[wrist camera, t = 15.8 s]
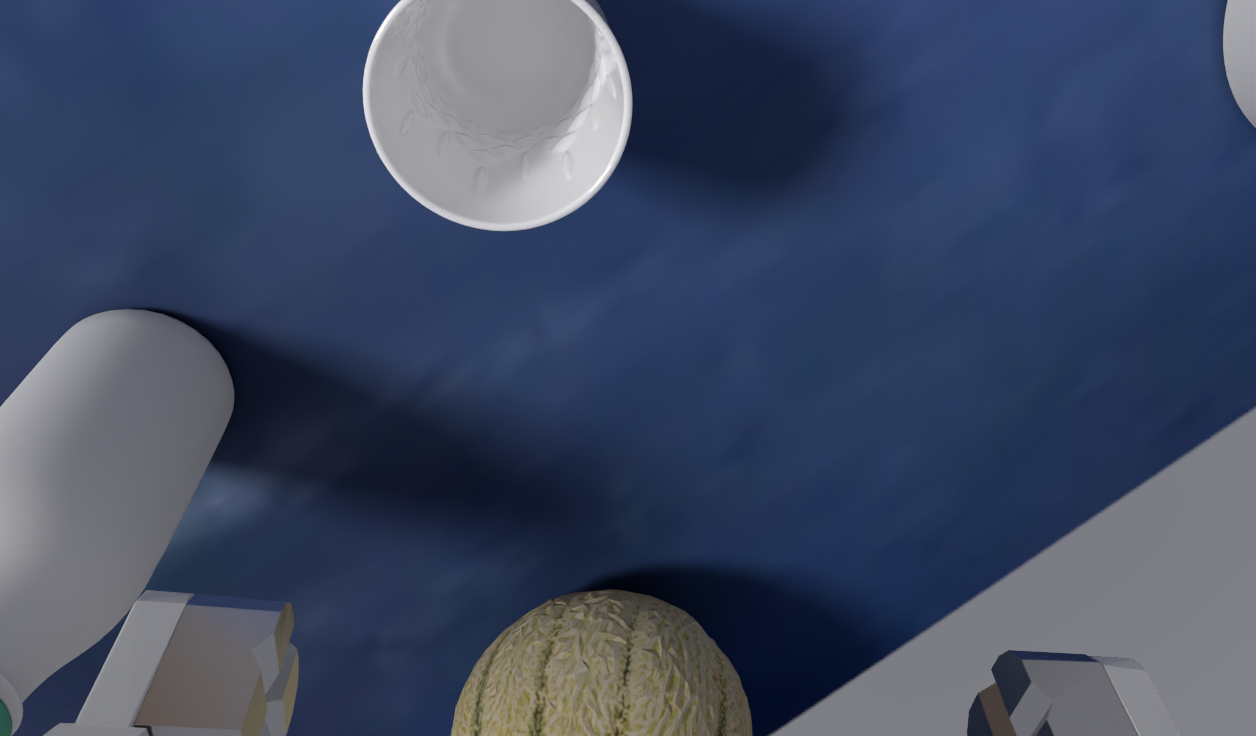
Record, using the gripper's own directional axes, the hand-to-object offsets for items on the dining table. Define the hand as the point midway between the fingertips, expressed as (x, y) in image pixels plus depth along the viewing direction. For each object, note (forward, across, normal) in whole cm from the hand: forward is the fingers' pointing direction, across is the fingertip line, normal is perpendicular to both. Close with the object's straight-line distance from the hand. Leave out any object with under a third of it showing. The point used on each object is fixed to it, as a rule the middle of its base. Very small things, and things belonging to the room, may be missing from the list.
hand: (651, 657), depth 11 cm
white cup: (+31, +4, +3) cm, 31 cm away
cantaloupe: (+28, -3, +34) cm, 45 cm away
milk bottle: (+29, +19, +20) cm, 40 cm away
